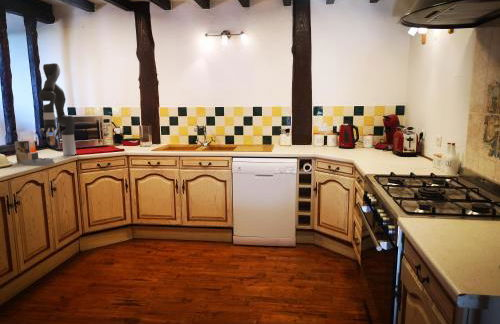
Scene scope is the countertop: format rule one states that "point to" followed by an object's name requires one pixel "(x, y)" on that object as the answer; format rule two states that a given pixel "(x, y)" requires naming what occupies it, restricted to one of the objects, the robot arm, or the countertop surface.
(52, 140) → the dark brown block
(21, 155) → the coffee box
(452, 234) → the countertop surface
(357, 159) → the countertop surface
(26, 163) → the grey piece
